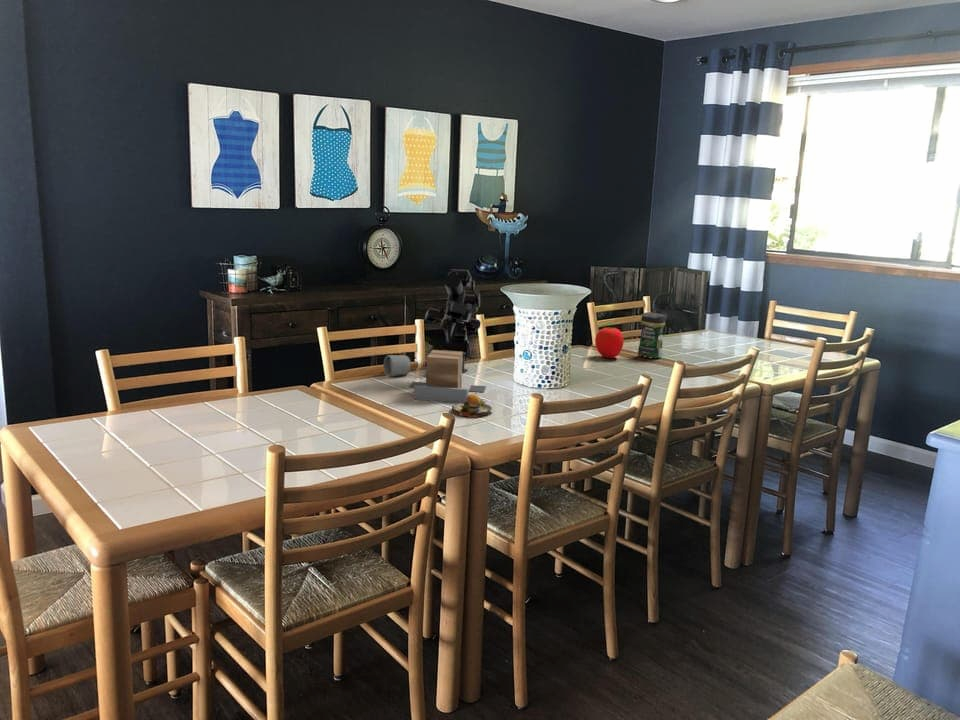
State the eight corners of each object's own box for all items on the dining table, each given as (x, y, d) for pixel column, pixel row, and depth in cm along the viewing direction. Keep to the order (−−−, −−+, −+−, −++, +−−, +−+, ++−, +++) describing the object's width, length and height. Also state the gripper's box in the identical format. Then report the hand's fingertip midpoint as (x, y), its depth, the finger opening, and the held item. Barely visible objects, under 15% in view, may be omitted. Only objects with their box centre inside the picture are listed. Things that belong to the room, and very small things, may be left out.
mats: (412, 382, 264) (412, 381, 264) (485, 386, 262) (485, 386, 262) (408, 387, 257) (408, 387, 256) (483, 392, 254) (483, 391, 254)
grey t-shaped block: (418, 392, 251) (418, 380, 250) (469, 395, 250) (469, 383, 249) (413, 398, 243) (414, 386, 242) (466, 402, 242) (466, 389, 241)
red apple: (626, 357, 320) (629, 327, 318) (616, 361, 311) (618, 330, 309) (601, 353, 326) (603, 323, 323) (590, 357, 317) (592, 326, 314)
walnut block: (431, 388, 258) (432, 349, 255) (461, 390, 257) (462, 351, 254) (425, 397, 246) (426, 357, 243) (457, 399, 245) (458, 359, 242)
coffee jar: (634, 356, 324) (638, 312, 320) (644, 353, 330) (648, 310, 326) (655, 360, 317) (659, 315, 314) (664, 357, 323) (669, 313, 319)
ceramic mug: (412, 376, 273) (412, 355, 271) (392, 378, 268) (392, 357, 267) (398, 370, 281) (399, 350, 280) (379, 372, 277) (379, 352, 275)
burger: (492, 408, 237) (493, 384, 235) (491, 419, 225) (492, 394, 224) (452, 406, 237) (453, 383, 235) (450, 417, 226) (451, 392, 224)
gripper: (435, 286, 262) (428, 327, 256) (487, 299, 266) (482, 340, 260) (427, 299, 272) (420, 339, 266) (478, 311, 276) (472, 351, 270)
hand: (449, 342), depth 265 cm, fingers closed
